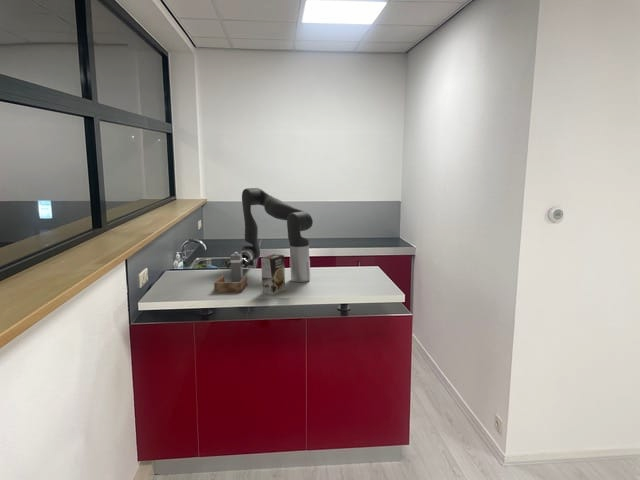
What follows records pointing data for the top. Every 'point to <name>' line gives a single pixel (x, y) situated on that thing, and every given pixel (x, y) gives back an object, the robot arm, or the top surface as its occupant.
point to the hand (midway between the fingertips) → (236, 265)
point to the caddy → (230, 285)
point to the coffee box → (273, 274)
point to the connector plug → (236, 267)
